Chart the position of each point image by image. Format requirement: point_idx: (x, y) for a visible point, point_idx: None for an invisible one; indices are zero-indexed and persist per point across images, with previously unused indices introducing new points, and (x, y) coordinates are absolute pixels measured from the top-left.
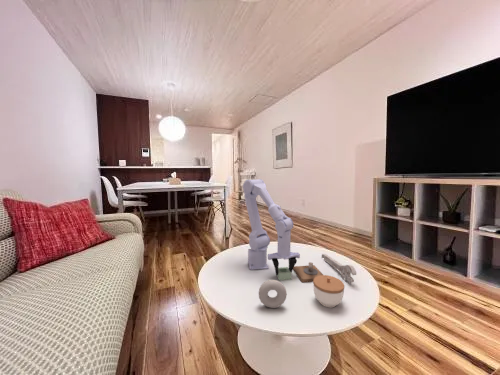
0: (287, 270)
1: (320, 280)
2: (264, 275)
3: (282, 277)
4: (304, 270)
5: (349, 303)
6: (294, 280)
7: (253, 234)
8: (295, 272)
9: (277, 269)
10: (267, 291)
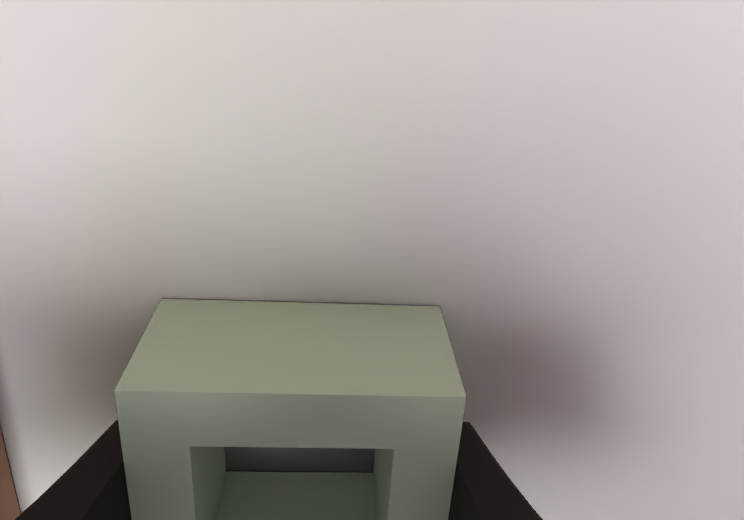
0: (192, 504)
1: None
2: (644, 488)
3: (368, 334)
4: None
5: None
6: (99, 249)
7: None
8: (5, 499)
9: (505, 518)
10: None
